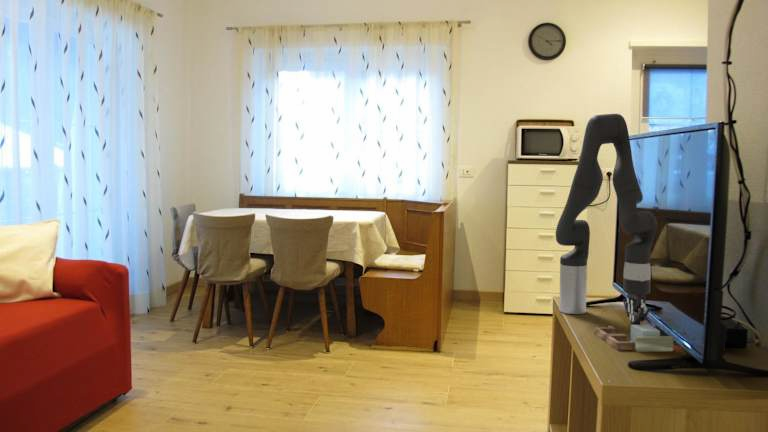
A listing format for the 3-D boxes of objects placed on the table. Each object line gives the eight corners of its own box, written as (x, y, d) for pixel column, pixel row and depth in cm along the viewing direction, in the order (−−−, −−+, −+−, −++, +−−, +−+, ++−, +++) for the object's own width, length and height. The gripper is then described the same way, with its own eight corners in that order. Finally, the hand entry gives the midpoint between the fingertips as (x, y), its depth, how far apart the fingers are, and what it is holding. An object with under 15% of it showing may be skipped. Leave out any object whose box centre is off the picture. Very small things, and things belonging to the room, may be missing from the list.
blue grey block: (630, 341, 178) (630, 324, 177) (646, 340, 178) (646, 324, 178) (642, 348, 171) (643, 331, 170) (659, 347, 171) (659, 330, 171)
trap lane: (592, 332, 187) (592, 319, 187) (640, 331, 188) (640, 319, 188) (619, 351, 167) (619, 338, 167) (673, 351, 168) (673, 337, 168)
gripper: (615, 273, 185) (613, 327, 187) (634, 281, 172) (632, 339, 174) (638, 273, 186) (637, 327, 187) (660, 281, 172) (658, 339, 174)
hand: (635, 333), depth 180 cm, fingers closed
